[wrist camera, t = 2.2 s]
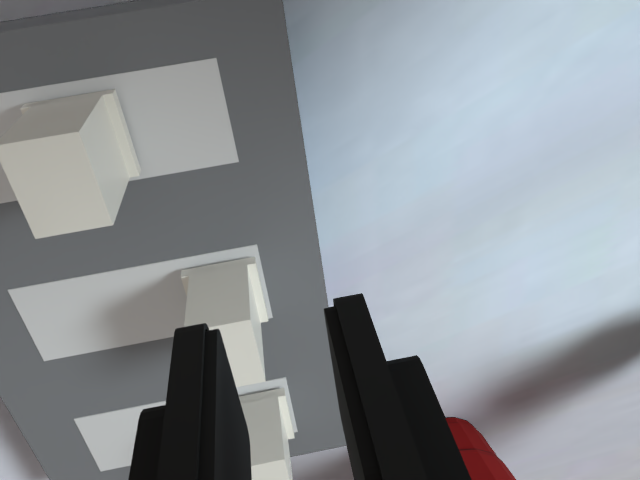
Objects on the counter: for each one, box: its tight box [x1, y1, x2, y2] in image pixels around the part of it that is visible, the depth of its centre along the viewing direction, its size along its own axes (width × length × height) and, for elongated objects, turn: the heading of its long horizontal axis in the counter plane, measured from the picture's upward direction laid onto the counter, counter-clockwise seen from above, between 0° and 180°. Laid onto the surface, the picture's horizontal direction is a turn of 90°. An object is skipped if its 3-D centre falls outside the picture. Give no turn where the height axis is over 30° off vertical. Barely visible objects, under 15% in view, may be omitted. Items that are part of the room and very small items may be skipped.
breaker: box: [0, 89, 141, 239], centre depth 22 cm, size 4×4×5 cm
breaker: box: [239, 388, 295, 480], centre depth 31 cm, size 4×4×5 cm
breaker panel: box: [0, 0, 347, 480], centre depth 30 cm, size 27×18×3 cm, turn 7°
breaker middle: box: [181, 257, 268, 387], centre depth 27 cm, size 4×4×5 cm
